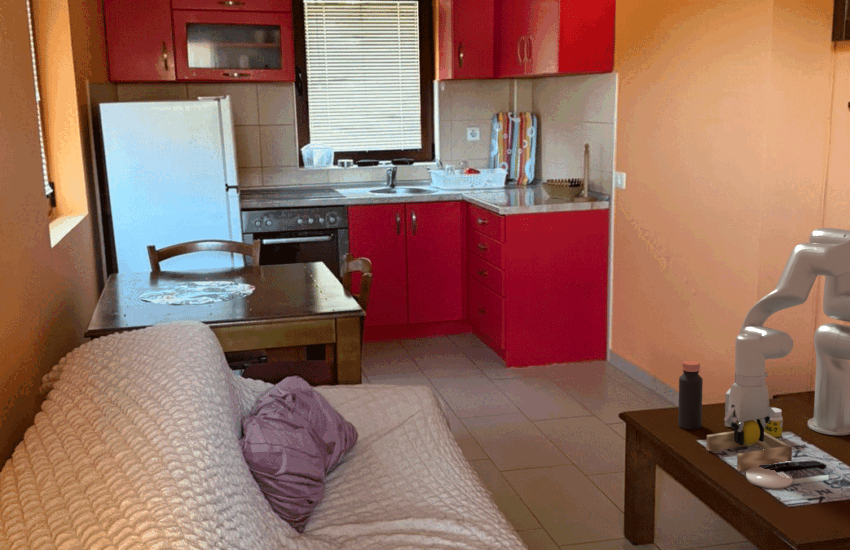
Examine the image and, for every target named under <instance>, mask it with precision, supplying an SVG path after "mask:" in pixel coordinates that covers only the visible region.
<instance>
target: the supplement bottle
mask: <svg viewBox="0 0 850 550" xmlns="http://www.w3.org/2000/svg"><path fill="white" fill-rule="evenodd" d="M771 408H772V410H773V411H774V412H775V413H774V414H773V415H772V417H771V418H770V420H769V421H768V422H767V423H766V427H765V428H764V432H765V433H767V434H769V435H771V436H773V437H775V438H776V439H780V440H781V439H782V438H783V425H784V424H783V423H784V419H783V416H782V414H783V413H782V412H783V411H782V409H781V408H777V407H771Z"/></svg>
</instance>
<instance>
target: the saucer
mask: <svg viewBox="0 0 850 550" xmlns="http://www.w3.org/2000/svg"><path fill="white" fill-rule="evenodd" d="M745 478H746V480H747V481H748V482H749V483H750V484H752V485H754V486H758V487H760V488H765V489H772V490H773V489H774V490H778V489H780V490H781V489H787V488H790V487H791V486H792V485H793V481H794V480H793V479H794V478H793V476H792V475H791V477H790V478H786V477H782V476H780V475H778V474H777V472H776V471H775V470H770V469H764V468H762V467H754V468H751V469H749V470H746V473H745ZM792 480H793V481H792Z"/></svg>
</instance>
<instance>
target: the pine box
mask: <svg viewBox="0 0 850 550" xmlns="http://www.w3.org/2000/svg"><path fill="white" fill-rule="evenodd" d="M754 444H755V446H756V445H757V446H756V447H758V446H759V447H758V448H760V447H761V448H762V449H761V448H760V449H759V450H752V451H746V452H740V453H736V455H737V457H736V458H737V459H736V471H738V472H744V471H746V472H747V470H749V469H751V468H754V467H759V466H760V465H765V464H774V463H779V462H785V461H792V460H793V446H791V445H790V444H787V443H785V442H784V441H782V440H781V439H780V440H778V439H776V438H775V437H773V436H771V435H769V434H767V433H765V432H764V441H763V442H761V441H759V440H758V441H757V442H756V443H754ZM754 444H752V445H751V446H754ZM705 447H706V448H705V450H706V451H707V450H708V451H711V452H716V451H715V450H717V451H722V450H723V449H724V450H728V449H735V448H741V447H742V448H743V447H748V445H747V444H745V443H744V445H742V446H741V445H739V444H738V443H736V442H735V440H734V430H732V431H725V432H717V433H711V434H707V435H706V446H705ZM763 449H764V450H763ZM724 450H723V451H724ZM708 451H707V452H708ZM792 462H793V461H792Z"/></svg>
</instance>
